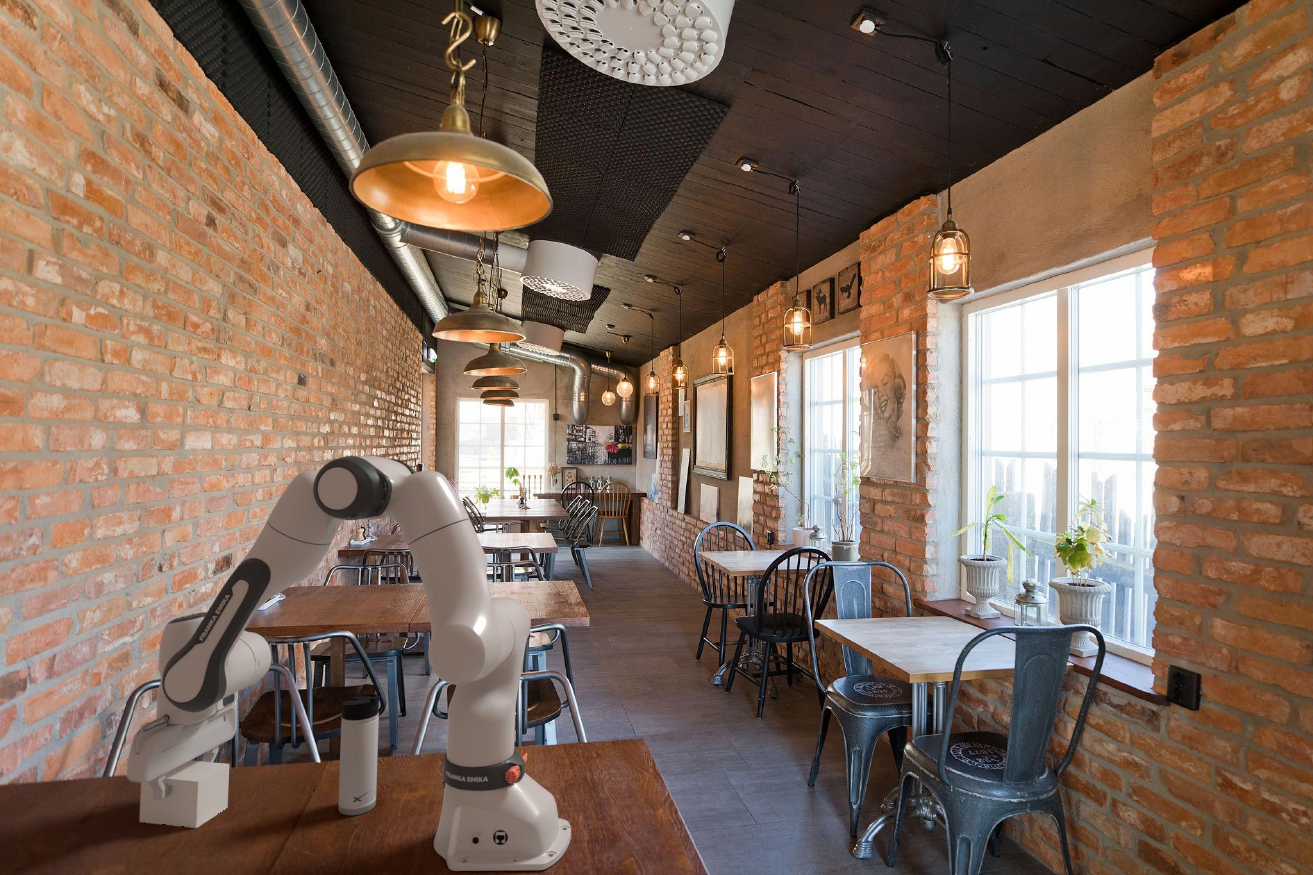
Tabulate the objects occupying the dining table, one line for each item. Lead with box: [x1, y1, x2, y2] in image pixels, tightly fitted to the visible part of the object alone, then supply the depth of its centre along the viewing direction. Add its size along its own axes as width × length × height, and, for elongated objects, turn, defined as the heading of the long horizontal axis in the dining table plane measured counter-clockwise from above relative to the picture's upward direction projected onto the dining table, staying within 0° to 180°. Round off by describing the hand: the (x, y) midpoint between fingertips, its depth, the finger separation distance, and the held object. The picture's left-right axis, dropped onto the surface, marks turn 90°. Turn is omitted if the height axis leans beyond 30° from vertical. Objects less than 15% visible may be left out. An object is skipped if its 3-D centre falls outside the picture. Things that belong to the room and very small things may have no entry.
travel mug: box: [338, 693, 381, 816], centre depth 126 cm, size 6×7×20 cm
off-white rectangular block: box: [139, 759, 230, 829], centre depth 122 cm, size 11×7×8 cm, turn 82°
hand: (183, 785), depth 122 cm, fingers open, 8 cm apart
